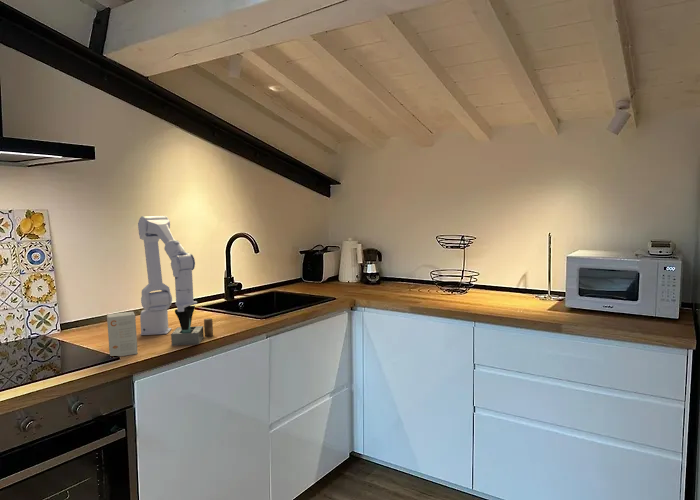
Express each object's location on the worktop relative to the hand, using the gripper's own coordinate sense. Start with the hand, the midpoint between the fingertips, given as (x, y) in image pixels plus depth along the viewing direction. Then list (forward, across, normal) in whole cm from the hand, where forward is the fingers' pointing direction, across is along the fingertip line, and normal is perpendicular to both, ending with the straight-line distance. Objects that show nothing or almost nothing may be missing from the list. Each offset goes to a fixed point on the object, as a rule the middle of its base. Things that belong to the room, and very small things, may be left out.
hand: (186, 328), depth 173 cm
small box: (+5, -10, +18) cm, 21 cm away
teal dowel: (+3, 0, 0) cm, 3 cm away
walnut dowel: (+5, +9, -6) cm, 12 cm away
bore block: (+5, +2, 0) cm, 6 cm away
